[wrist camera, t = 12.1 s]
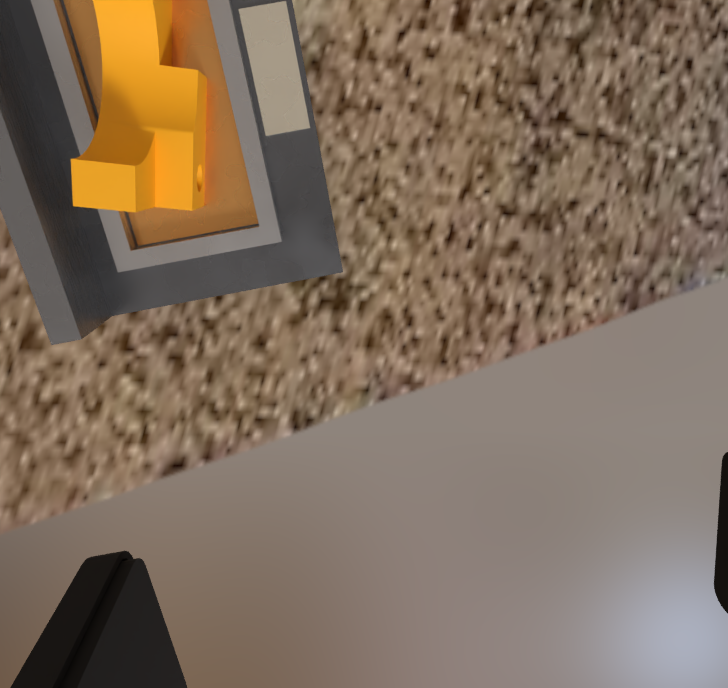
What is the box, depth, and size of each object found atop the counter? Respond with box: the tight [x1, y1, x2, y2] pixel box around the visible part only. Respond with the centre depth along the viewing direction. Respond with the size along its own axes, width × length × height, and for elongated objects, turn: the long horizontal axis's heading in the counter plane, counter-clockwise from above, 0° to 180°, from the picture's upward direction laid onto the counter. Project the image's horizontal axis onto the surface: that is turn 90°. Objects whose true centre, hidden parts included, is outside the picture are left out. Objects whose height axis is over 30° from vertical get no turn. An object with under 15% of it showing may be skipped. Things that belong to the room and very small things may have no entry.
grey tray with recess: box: [0, 0, 343, 345], centre depth 27 cm, size 15×22×6 cm
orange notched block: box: [71, 0, 207, 212], centre depth 25 cm, size 12×4×6 cm, turn 174°
